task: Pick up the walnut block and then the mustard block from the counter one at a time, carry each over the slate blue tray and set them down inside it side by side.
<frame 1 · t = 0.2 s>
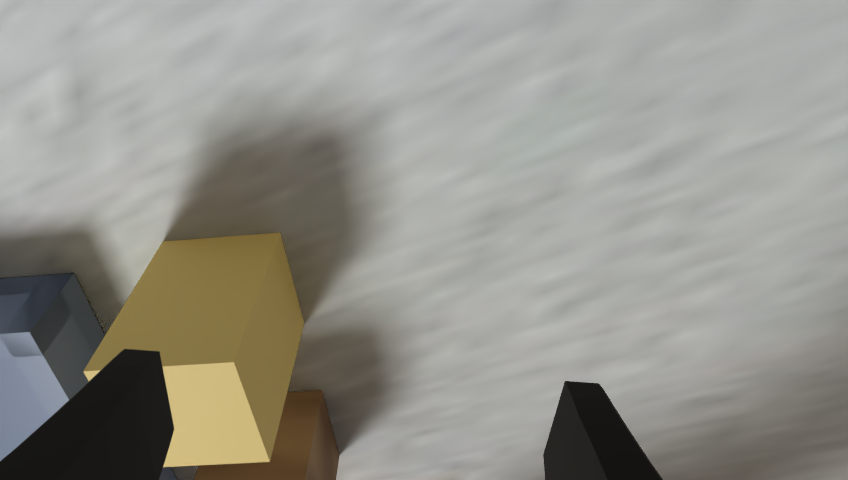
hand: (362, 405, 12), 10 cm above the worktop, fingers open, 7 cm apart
walnut block: (283, 426, 27), on the worktop
slate blue tray: (1, 434, 28), on the worktop
mustard block: (236, 283, 23), on the worktop
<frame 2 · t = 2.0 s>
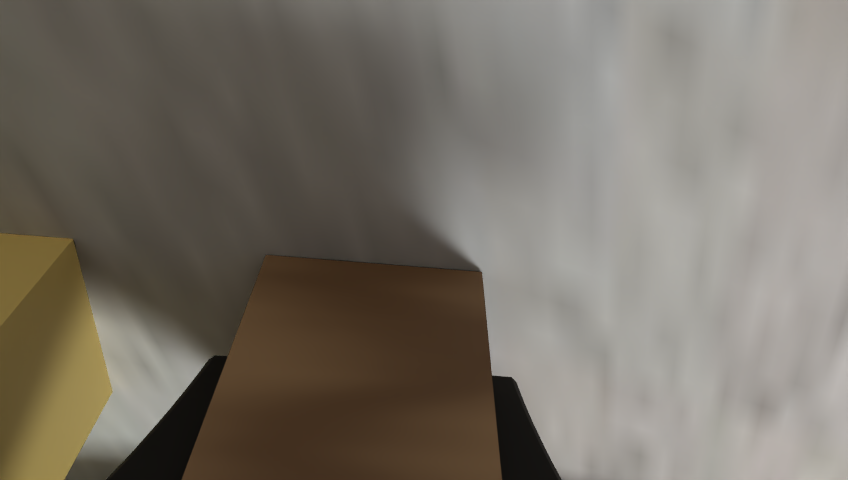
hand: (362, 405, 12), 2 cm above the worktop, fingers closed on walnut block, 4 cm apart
walnut block: (370, 343, 13), on the worktop, touching gripper
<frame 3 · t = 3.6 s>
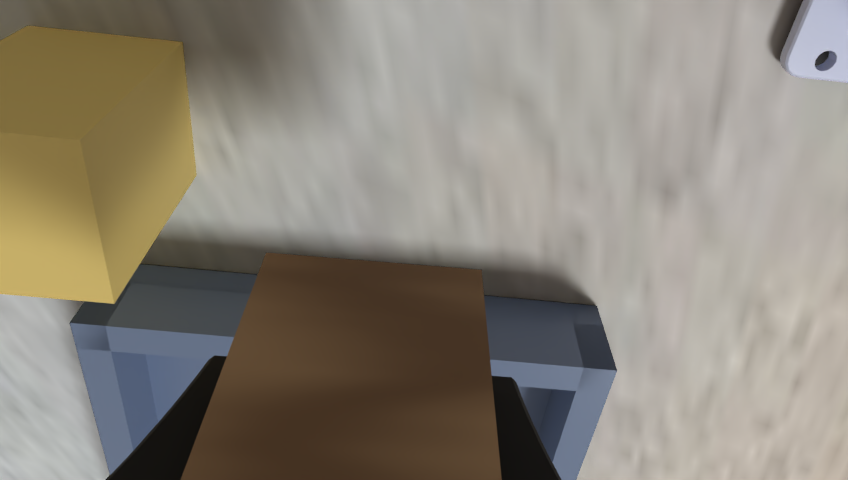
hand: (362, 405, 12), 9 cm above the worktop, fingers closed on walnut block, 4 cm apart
walnut block: (369, 341, 13), point 7 cm above the worktop, touching gripper
slate blue tray: (350, 416, 25), on the worktop
mustard block: (117, 105, 18), on the worktop
when the fingers open (5 cm above the worktop, at t = 5.4 s): walnut block drops 2 cm, resting on slate blue tray.
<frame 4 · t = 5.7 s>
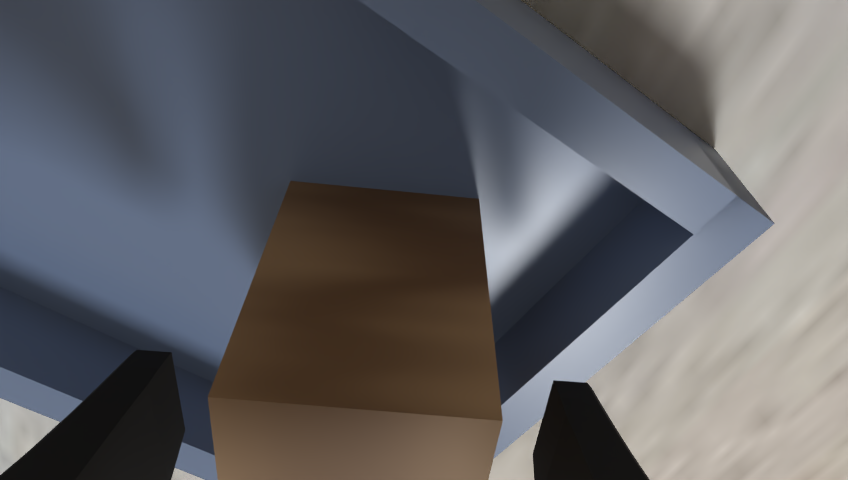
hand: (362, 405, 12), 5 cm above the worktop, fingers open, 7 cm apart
walnut block: (379, 265, 15), point 1 cm above the worktop, touching slate blue tray
slate blue tray: (251, 176, 15), on the worktop
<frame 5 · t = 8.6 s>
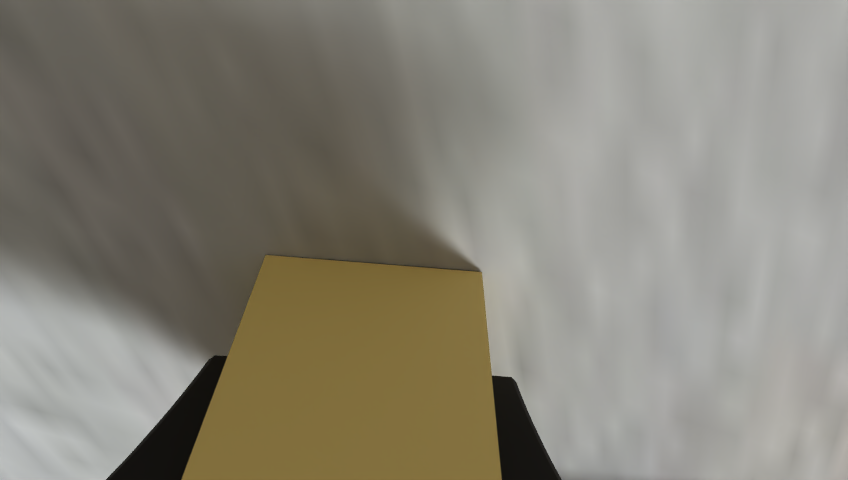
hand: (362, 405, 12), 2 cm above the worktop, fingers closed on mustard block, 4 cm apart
mustard block: (369, 343, 13), on the worktop, touching gripper
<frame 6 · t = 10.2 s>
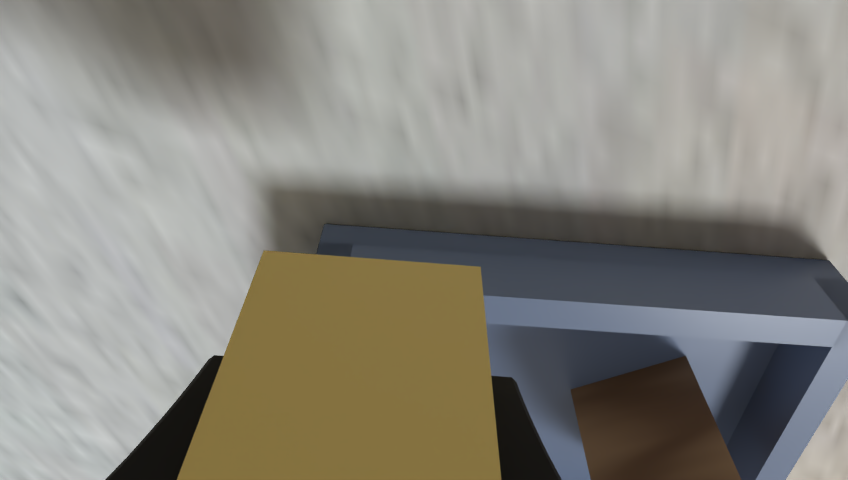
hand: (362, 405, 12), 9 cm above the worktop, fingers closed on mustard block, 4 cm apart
walnut block: (641, 409, 23), point 1 cm above the worktop, touching slate blue tray
slate blue tray: (542, 387, 24), on the worktop
mustard block: (369, 339, 13), point 7 cm above the worktop, touching gripper
when the fingers open (5 cm above the worktop, at t = 11.9 s): mustard block drops 2 cm, resting on slate blue tray.
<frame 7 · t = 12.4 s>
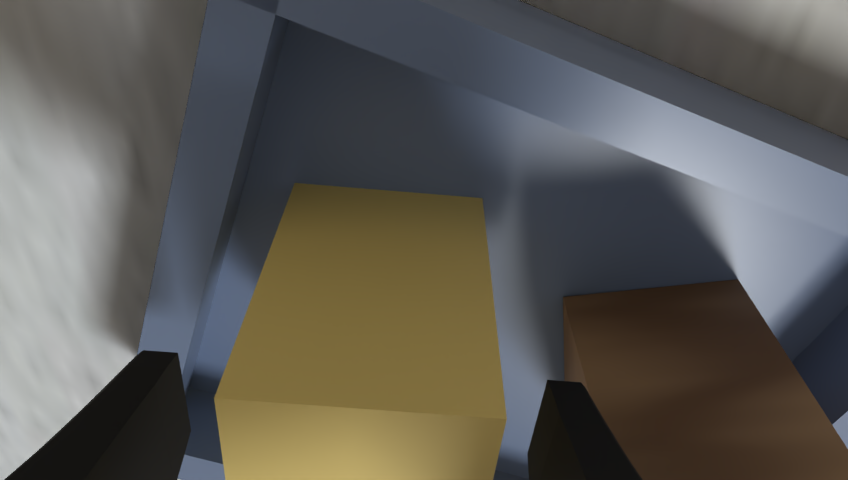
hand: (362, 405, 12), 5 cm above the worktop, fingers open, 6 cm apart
walnut block: (644, 350, 16), point 1 cm above the worktop, touching gripper, slate blue tray
slate blue tray: (514, 291, 17), on the worktop
mustard block: (384, 266, 15), point 1 cm above the worktop, touching slate blue tray
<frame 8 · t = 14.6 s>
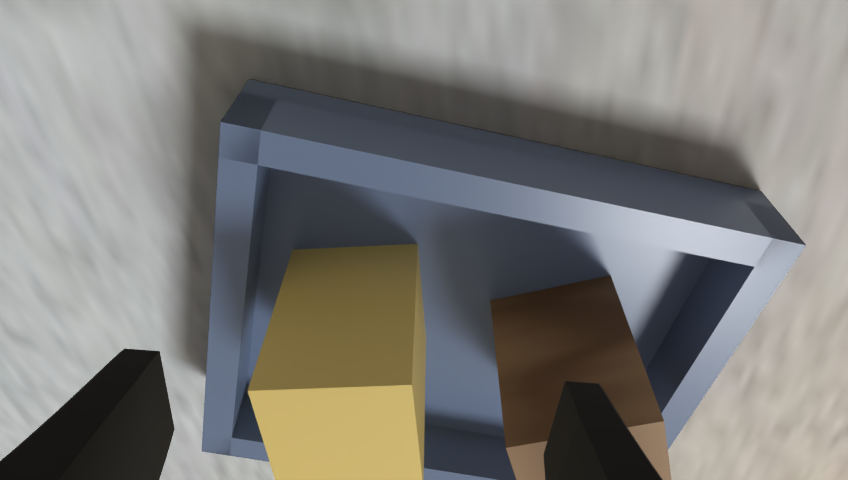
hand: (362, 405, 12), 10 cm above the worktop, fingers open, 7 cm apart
walnut block: (559, 332, 23), point 1 cm above the worktop, touching slate blue tray
slate blue tray: (461, 301, 23), on the worktop
mustard block: (362, 295, 22), point 1 cm above the worktop, touching slate blue tray
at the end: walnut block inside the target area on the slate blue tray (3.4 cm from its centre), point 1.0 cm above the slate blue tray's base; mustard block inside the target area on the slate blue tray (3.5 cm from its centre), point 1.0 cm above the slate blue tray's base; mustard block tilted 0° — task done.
